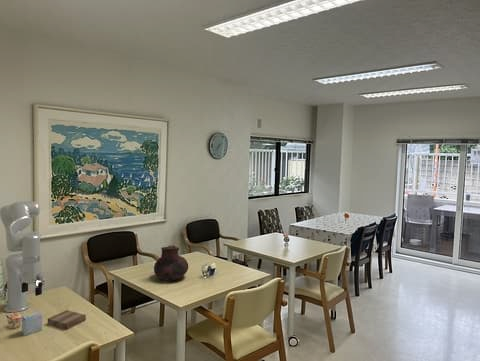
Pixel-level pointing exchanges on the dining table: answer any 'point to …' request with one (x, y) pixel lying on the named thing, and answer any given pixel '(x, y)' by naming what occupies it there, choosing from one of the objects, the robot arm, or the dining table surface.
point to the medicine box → (31, 323)
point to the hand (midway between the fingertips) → (31, 293)
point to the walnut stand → (66, 319)
